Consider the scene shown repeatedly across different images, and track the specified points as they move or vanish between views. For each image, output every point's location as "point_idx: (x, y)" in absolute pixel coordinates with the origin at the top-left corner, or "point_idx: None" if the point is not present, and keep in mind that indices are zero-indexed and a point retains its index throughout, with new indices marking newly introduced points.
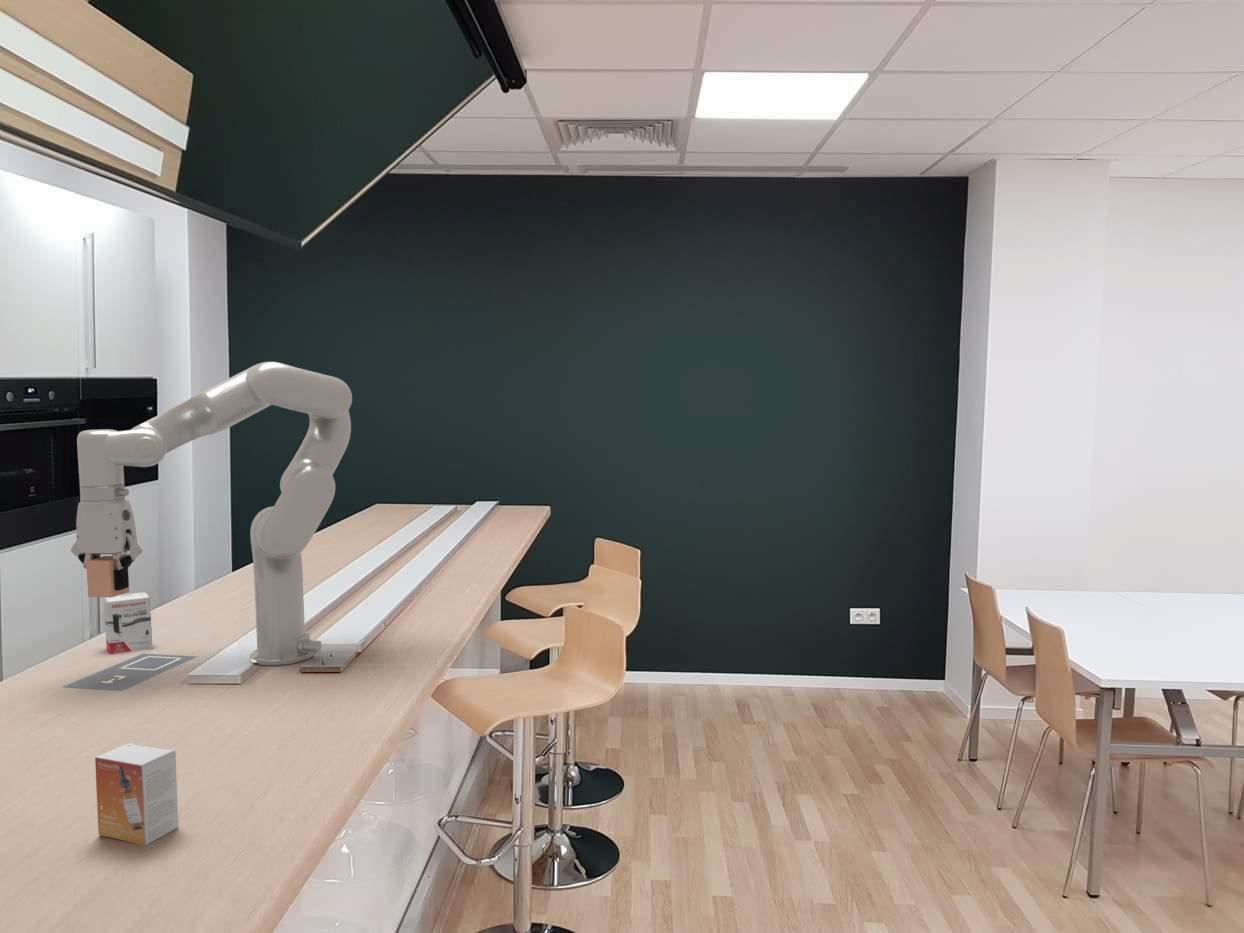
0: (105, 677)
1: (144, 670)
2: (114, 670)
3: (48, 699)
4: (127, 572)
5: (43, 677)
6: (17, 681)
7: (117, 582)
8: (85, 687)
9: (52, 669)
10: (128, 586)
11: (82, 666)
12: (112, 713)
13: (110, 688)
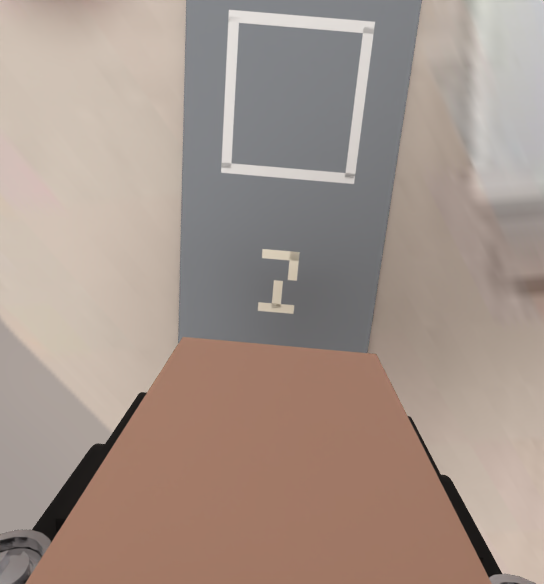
0: (242, 267)
1: (319, 187)
2: (222, 196)
3: None
4: (488, 563)
5: (47, 264)
6: (5, 304)
7: None
8: None
9: (5, 184)
10: (408, 417)
11: (74, 143)
12: None
13: None
